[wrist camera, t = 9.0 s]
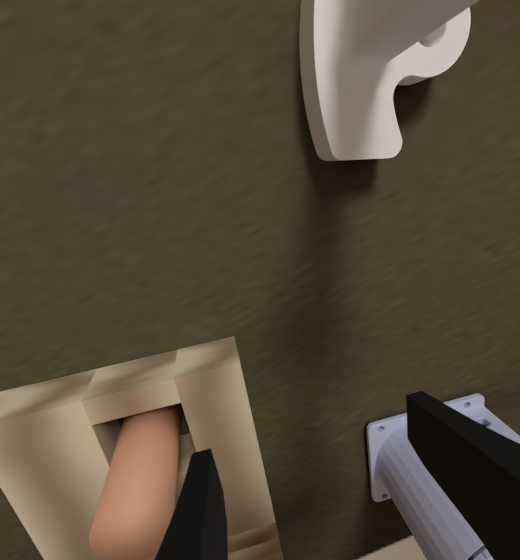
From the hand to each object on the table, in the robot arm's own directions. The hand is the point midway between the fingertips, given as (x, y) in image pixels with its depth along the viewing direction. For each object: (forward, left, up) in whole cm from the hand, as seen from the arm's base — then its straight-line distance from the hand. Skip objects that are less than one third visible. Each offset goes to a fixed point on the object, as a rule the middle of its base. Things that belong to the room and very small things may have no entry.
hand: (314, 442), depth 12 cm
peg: (+8, +4, -10) cm, 13 cm away
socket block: (+9, +8, -10) cm, 16 cm away
